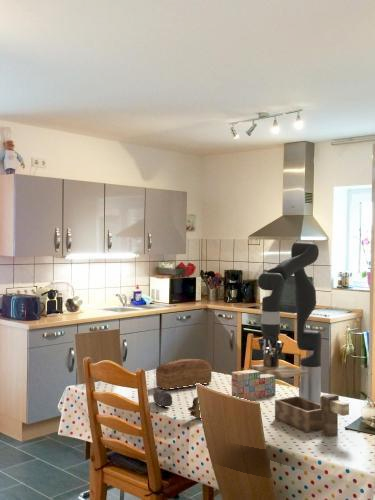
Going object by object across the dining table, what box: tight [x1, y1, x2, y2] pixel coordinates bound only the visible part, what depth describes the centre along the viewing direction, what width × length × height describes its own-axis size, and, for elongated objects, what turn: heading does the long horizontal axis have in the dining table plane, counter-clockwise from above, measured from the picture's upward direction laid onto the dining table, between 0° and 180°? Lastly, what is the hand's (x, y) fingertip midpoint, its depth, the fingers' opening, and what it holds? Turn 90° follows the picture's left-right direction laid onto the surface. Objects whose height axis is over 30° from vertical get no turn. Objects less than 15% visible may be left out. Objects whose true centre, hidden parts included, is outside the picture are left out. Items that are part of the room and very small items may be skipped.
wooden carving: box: [187, 396, 200, 419], centre depth 234 cm, size 16×5×10 cm, turn 141°
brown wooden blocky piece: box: [274, 393, 340, 438], centre depth 222 cm, size 28×12×15 cm, turn 29°
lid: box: [251, 352, 308, 378], centre depth 219 cm, size 20×12×6 cm, turn 30°
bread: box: [155, 358, 213, 390], centre depth 289 cm, size 12×31×14 cm, turn 123°
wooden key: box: [320, 397, 350, 417], centre depth 210 cm, size 12×3×4 cm, turn 29°
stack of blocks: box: [231, 369, 277, 400], centre depth 268 cm, size 21×6×12 cm, turn 116°
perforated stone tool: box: [152, 389, 173, 407], centre depth 253 cm, size 15×5×7 cm, turn 25°
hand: (270, 365), depth 223 cm, fingers closed on lid, 3 cm apart
